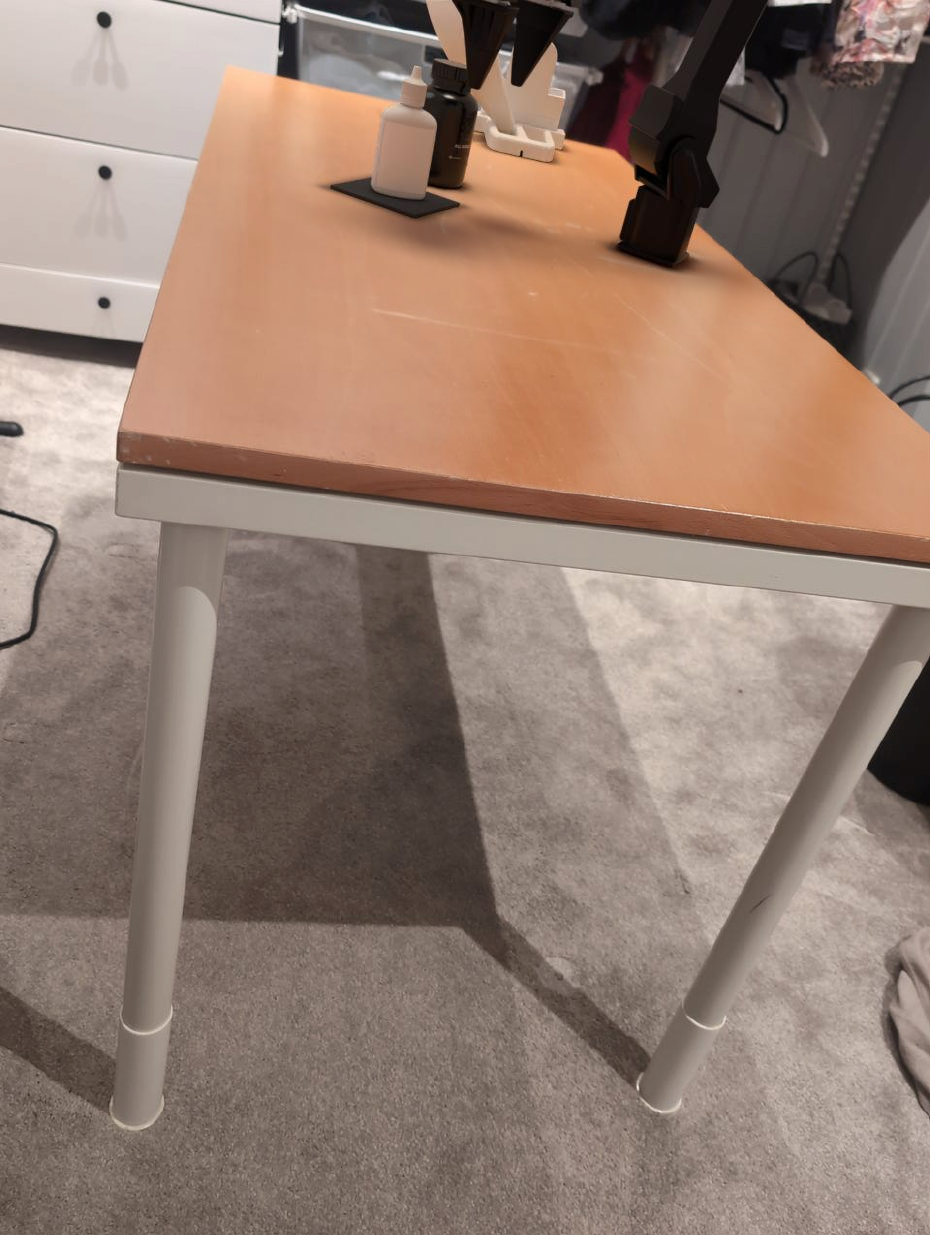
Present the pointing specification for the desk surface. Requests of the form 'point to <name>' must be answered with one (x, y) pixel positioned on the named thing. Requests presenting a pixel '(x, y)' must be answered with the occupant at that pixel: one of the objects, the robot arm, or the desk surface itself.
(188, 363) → the desk surface
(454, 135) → the supplement bottle
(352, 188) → the coaster
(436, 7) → the jewelry stand
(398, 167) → the eye dropper bottle
